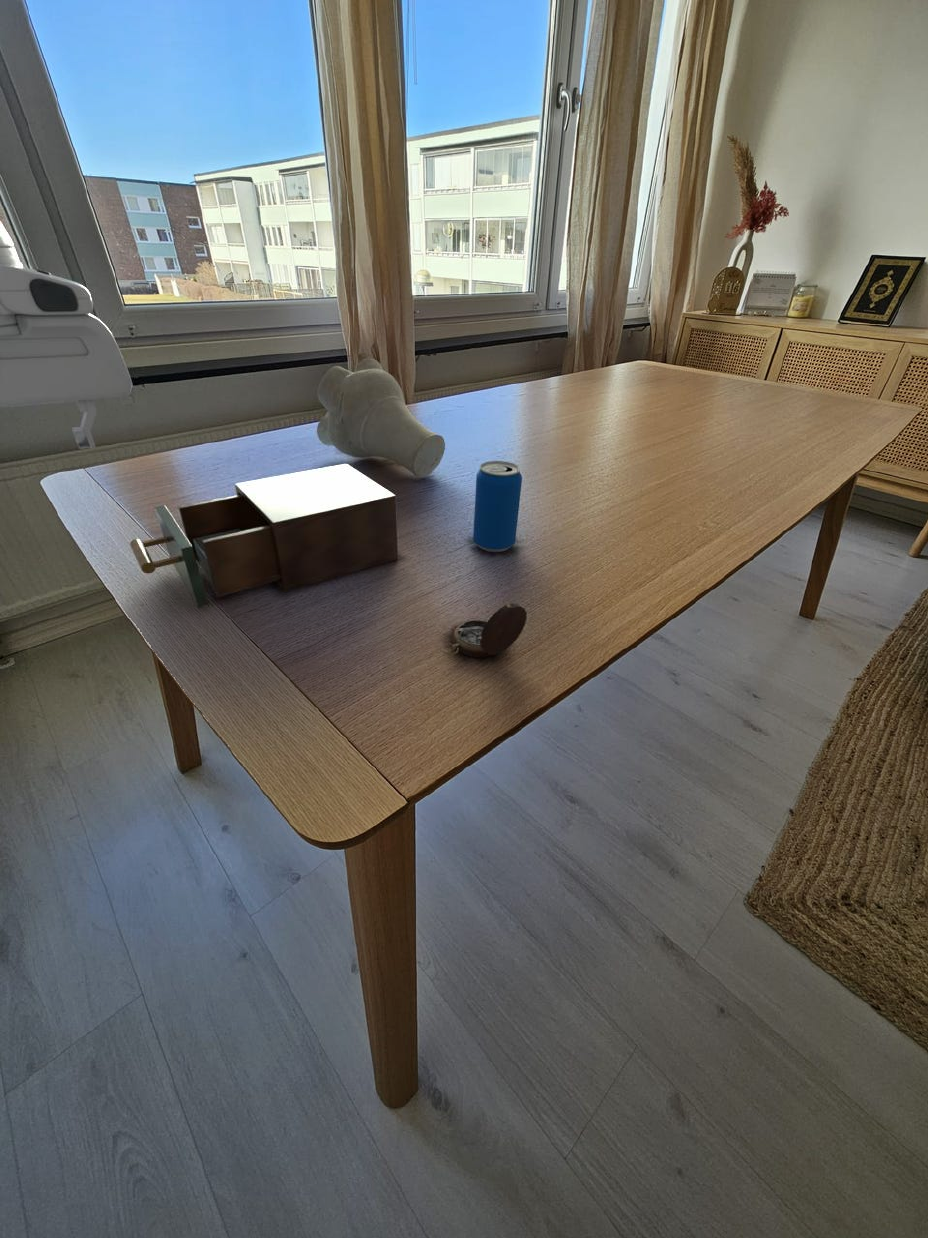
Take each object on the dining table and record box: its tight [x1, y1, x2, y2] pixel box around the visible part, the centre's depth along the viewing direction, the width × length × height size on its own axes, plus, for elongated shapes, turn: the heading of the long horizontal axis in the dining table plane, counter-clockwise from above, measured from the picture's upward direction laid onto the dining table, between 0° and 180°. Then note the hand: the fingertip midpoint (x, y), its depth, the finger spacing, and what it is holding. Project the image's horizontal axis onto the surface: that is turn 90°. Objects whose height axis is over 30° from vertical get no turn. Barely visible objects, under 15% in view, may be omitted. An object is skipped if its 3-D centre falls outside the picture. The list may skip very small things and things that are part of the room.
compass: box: [441, 601, 528, 658], centre depth 58 cm, size 8×8×7 cm
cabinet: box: [234, 463, 399, 593], centre depth 74 cm, size 17×15×10 cm
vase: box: [316, 358, 446, 479], centre depth 103 cm, size 22×22×28 cm
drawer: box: [129, 494, 281, 609], centre depth 68 cm, size 20×13×8 cm
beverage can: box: [472, 460, 523, 553], centre depth 78 cm, size 6×6×12 cm
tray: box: [193, 529, 241, 575], centre depth 69 cm, size 6×9×2 cm, turn 36°
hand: (32, 453), depth 52 cm, fingers open, 8 cm apart
